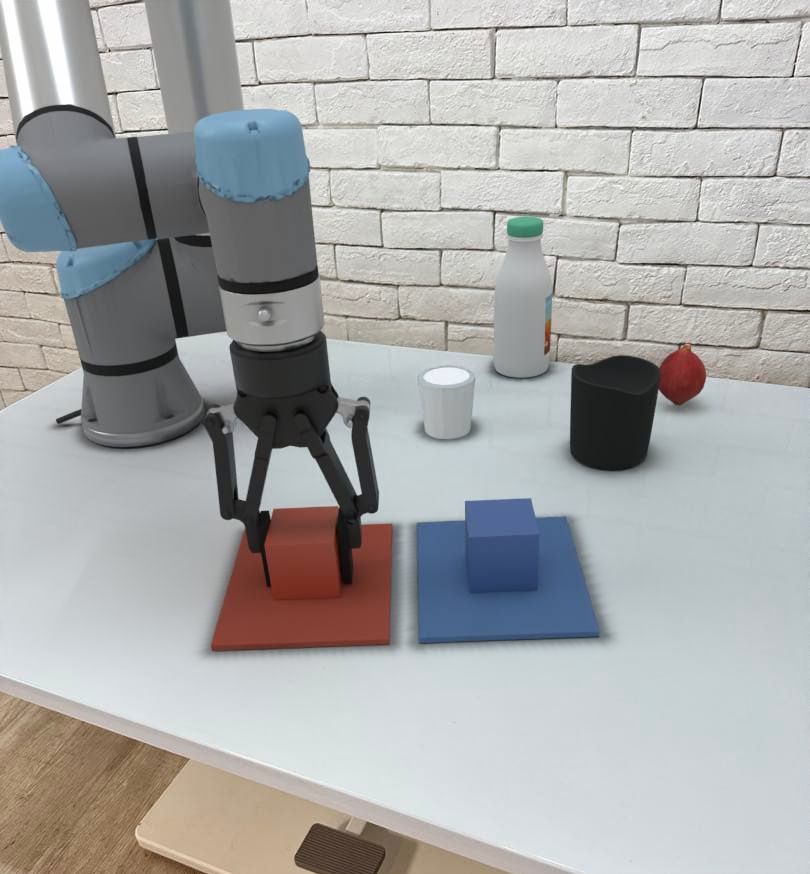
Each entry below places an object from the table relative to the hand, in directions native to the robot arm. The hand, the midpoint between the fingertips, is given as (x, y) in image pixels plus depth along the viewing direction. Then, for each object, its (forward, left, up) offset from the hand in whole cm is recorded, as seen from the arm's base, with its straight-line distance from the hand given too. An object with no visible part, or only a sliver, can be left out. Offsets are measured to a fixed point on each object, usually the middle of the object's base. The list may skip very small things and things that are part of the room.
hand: (310, 576), depth 79 cm
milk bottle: (+25, +49, -1) cm, 55 cm away
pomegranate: (+43, +35, -1) cm, 55 cm away
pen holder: (+32, +23, -1) cm, 39 cm away
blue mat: (+17, 0, -1) cm, 17 cm away
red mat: (0, 0, -1) cm, 1 cm away
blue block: (+17, 0, 0) cm, 17 cm away
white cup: (+14, +31, -1) cm, 34 cm away
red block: (0, 0, 0) cm, 0 cm away
